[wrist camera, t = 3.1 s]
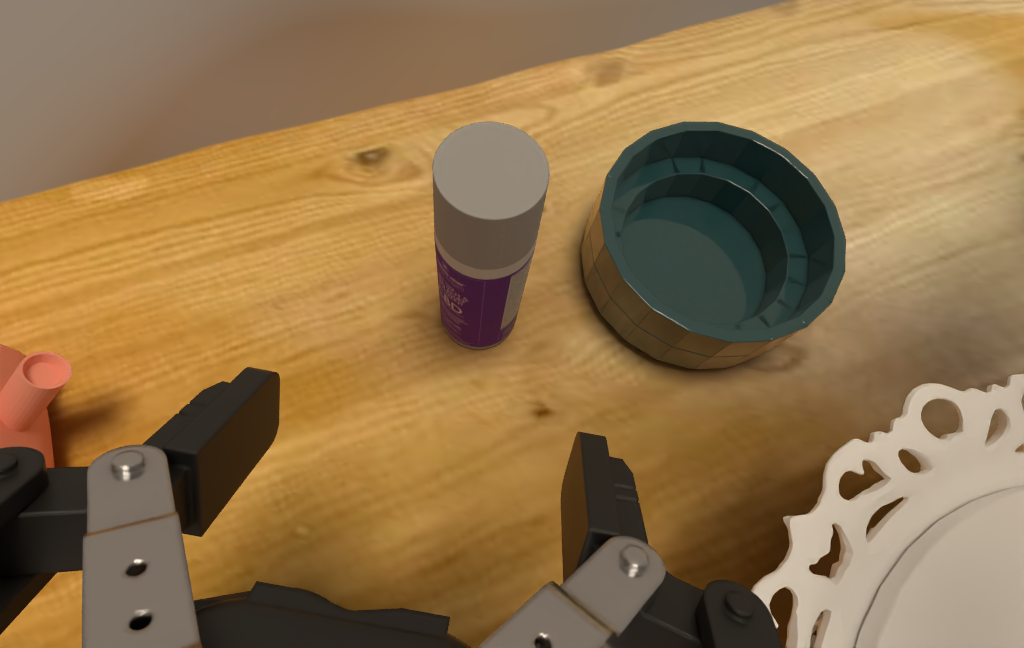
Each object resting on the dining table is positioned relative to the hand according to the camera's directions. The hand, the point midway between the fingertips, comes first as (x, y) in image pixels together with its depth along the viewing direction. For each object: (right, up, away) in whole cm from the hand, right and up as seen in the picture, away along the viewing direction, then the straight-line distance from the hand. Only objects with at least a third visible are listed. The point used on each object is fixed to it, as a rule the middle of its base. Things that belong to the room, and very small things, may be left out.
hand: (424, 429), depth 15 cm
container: (0, +3, +20) cm, 21 cm away
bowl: (+14, +7, +23) cm, 27 cm away
